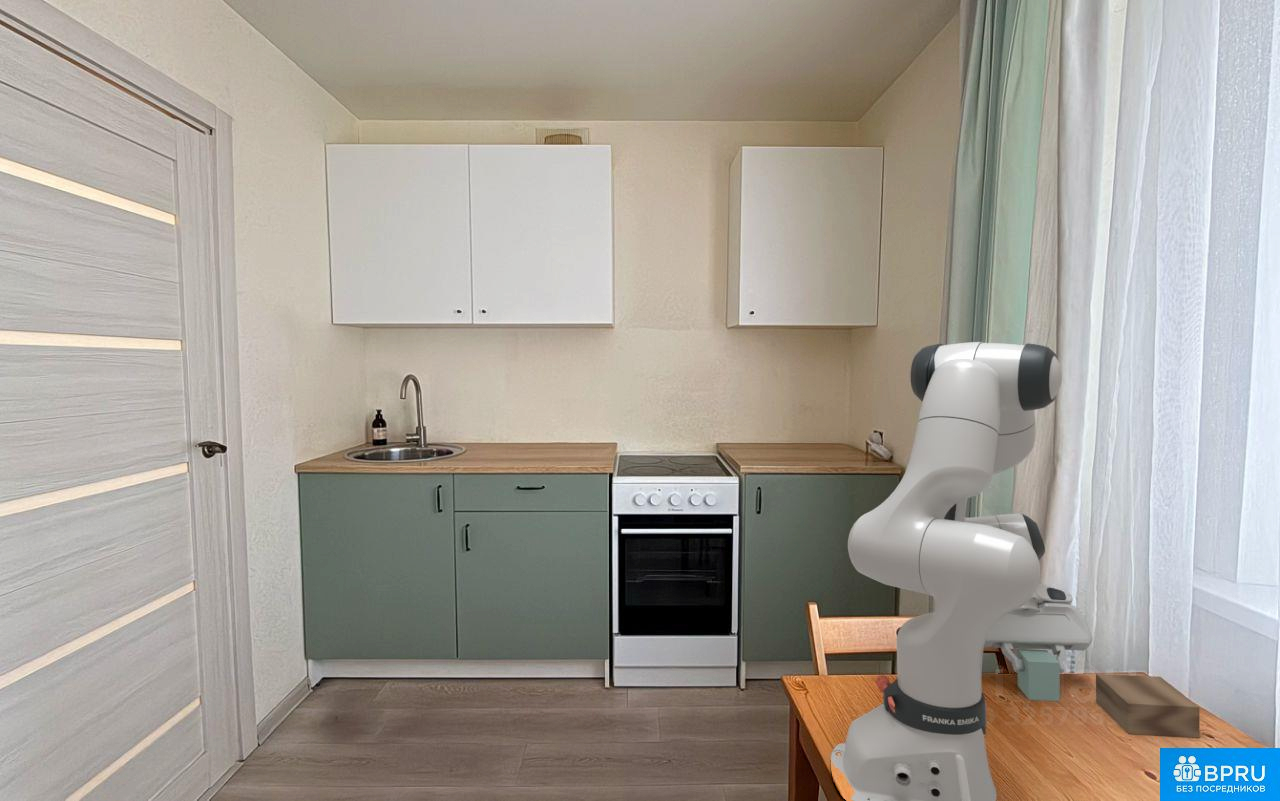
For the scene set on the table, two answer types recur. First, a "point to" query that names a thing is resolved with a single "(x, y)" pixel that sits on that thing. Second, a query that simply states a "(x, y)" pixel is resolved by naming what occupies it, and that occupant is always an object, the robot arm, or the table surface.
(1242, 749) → the table surface
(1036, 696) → the sage block
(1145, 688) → the walnut block
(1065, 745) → the table surface
